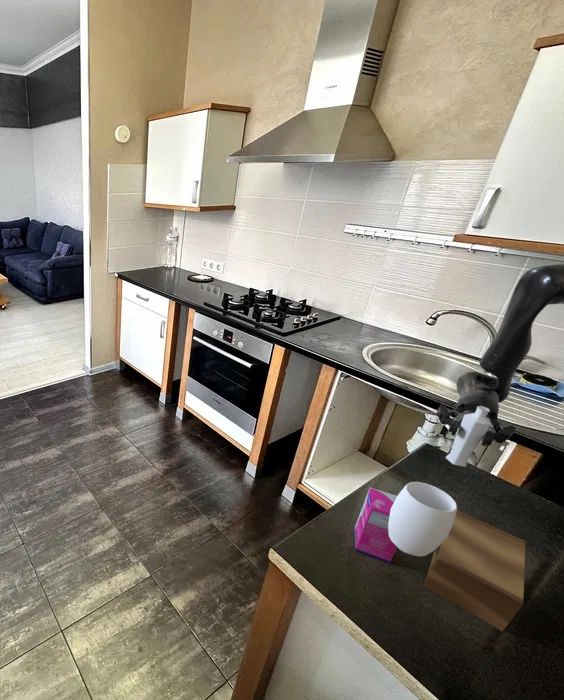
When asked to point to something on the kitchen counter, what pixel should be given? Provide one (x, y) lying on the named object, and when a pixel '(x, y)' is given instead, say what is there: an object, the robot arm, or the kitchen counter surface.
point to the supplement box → (375, 526)
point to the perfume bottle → (469, 436)
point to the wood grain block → (480, 570)
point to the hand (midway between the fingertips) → (469, 436)
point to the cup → (421, 518)
